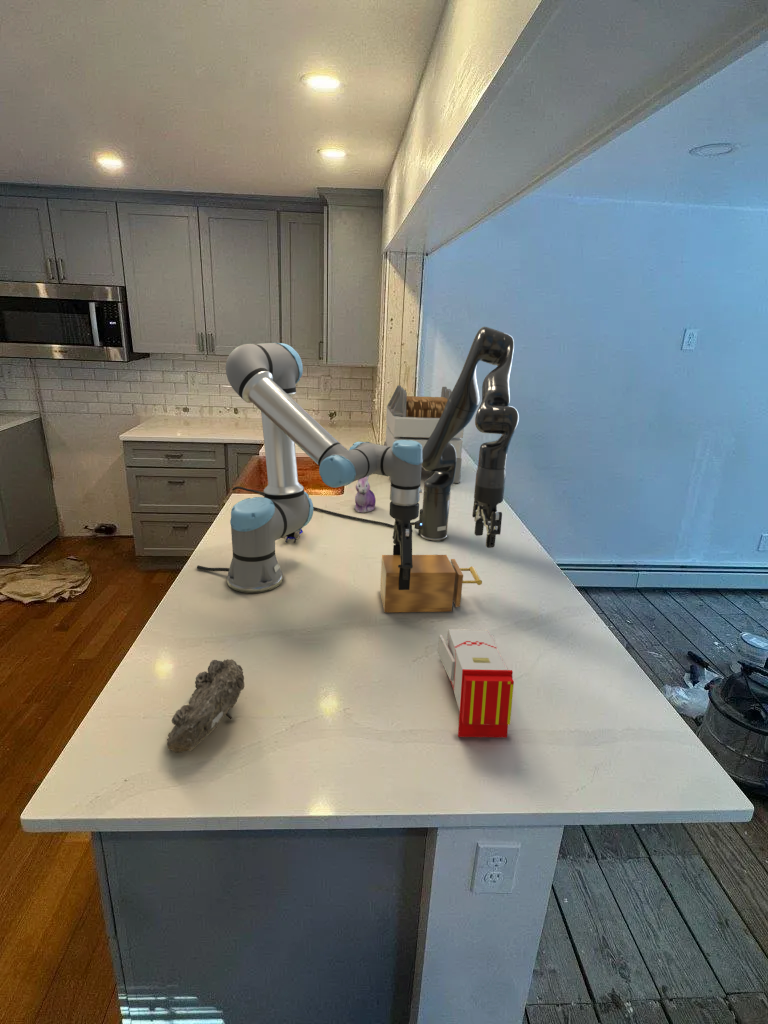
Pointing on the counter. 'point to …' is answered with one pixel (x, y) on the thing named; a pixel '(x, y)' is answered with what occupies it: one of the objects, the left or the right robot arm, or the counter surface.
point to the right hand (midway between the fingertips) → (484, 541)
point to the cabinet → (418, 584)
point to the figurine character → (293, 535)
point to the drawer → (459, 581)
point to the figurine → (364, 496)
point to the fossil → (206, 705)
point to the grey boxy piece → (418, 421)
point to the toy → (478, 682)
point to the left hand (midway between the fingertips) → (400, 577)
